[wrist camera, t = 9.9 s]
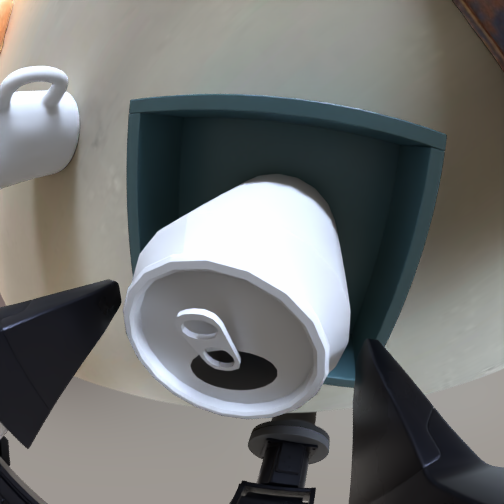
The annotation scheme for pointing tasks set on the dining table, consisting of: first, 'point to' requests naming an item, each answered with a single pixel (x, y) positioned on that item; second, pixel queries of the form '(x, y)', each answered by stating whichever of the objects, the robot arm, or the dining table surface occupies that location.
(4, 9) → the food
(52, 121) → the mug
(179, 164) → the box
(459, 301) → the dining table surface
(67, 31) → the dining table surface
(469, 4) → the container
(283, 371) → the can
